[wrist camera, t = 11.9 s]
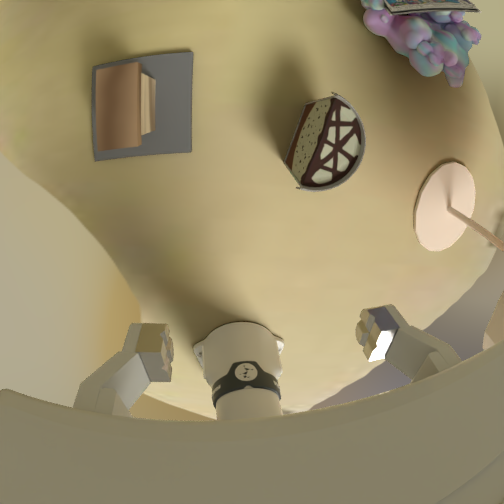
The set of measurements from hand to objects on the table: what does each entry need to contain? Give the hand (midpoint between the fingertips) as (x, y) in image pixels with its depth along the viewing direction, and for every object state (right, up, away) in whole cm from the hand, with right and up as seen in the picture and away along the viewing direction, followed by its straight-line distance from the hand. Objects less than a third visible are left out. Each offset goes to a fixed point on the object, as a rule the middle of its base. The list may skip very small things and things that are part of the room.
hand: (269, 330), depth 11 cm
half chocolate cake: (+8, +19, +25) cm, 33 cm away
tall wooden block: (-15, +22, +18) cm, 32 cm away
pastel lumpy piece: (+23, +40, +15) cm, 49 cm away
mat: (-15, +23, +19) cm, 33 cm away
